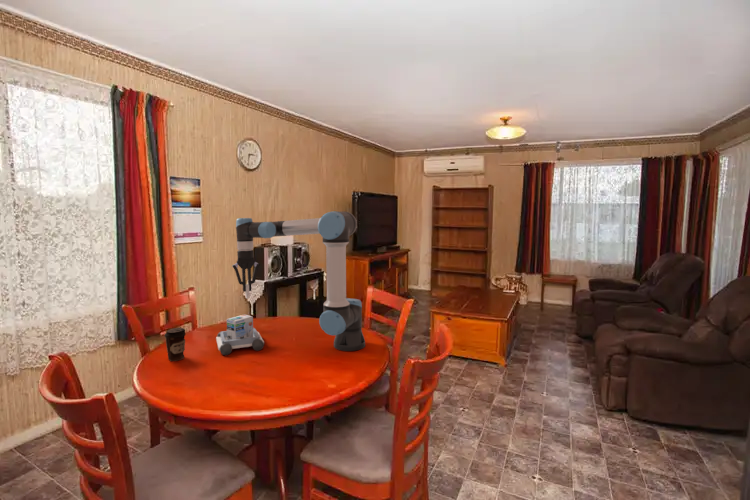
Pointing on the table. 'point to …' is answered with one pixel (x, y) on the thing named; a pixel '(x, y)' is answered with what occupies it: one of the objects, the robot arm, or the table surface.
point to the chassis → (238, 342)
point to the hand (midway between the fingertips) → (247, 297)
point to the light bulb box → (240, 327)
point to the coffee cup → (175, 343)
